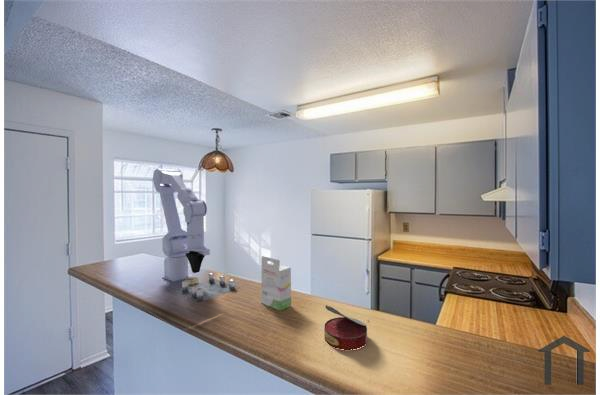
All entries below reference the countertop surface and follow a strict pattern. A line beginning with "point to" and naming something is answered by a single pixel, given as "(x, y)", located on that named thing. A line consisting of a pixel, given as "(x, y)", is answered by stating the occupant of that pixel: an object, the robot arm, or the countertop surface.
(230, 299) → the countertop surface
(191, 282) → the brass nut
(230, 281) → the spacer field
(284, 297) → the ink box
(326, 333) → the canned food
